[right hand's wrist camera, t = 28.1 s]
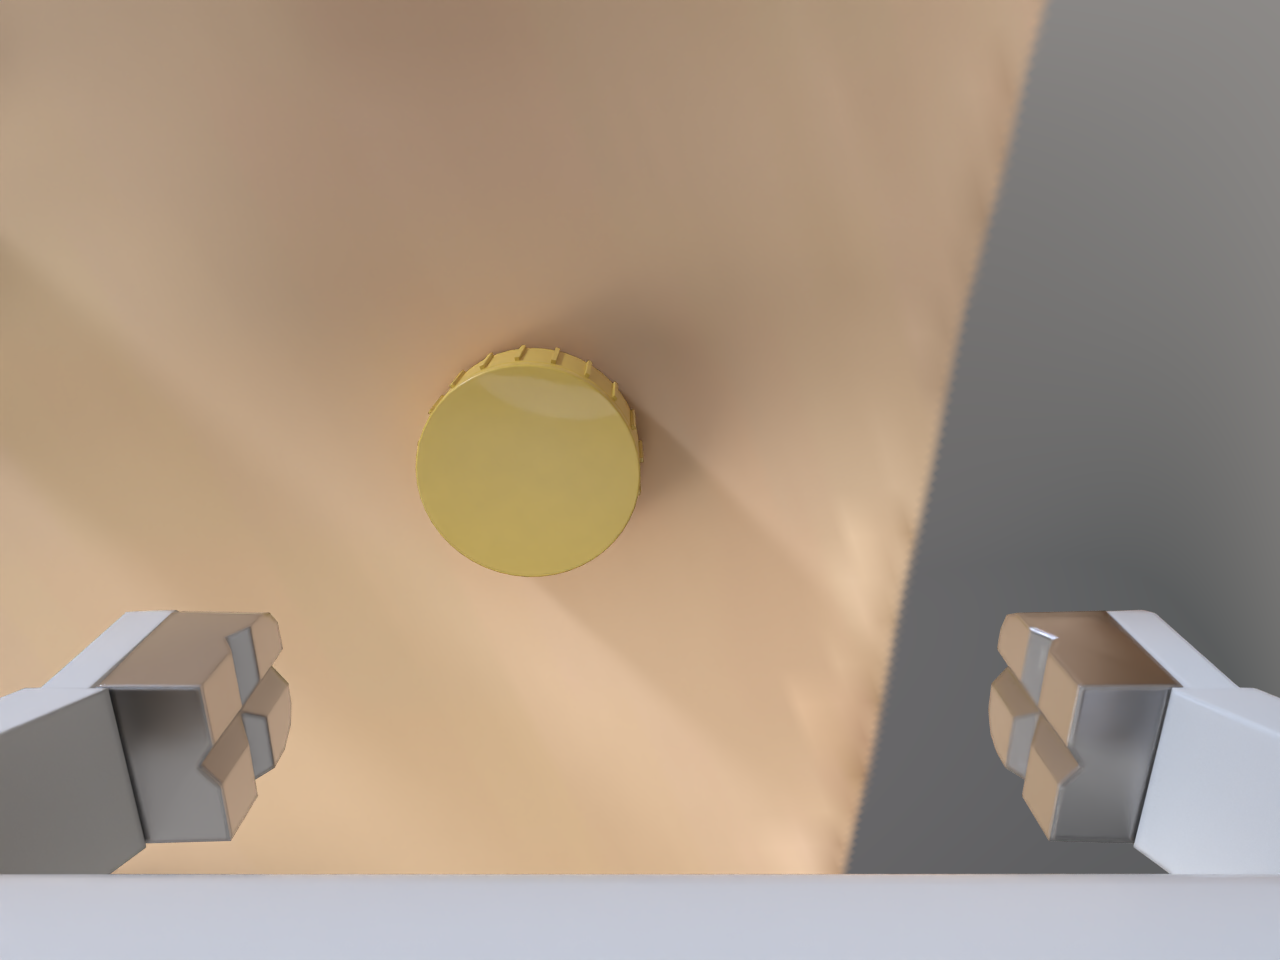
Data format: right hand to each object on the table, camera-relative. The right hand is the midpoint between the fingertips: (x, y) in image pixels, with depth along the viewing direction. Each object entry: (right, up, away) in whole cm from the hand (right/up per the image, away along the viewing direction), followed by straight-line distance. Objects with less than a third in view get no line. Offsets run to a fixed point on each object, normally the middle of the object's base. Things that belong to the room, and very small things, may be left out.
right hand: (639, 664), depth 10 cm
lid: (-2, +2, +10) cm, 10 cm away
